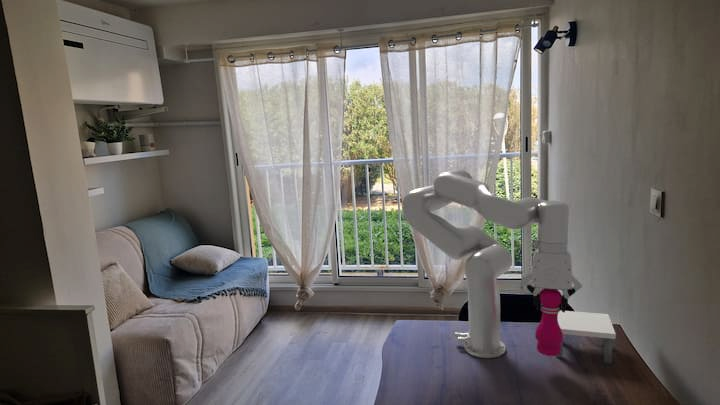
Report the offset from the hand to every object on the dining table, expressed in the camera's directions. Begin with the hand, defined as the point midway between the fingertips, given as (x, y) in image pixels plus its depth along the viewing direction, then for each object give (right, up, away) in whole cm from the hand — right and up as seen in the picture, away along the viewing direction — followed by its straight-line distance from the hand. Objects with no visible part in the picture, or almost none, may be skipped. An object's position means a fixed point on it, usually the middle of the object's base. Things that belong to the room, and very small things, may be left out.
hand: (550, 308), depth 127 cm
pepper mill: (0, -13, +2) cm, 13 cm away
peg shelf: (+15, -16, +12) cm, 25 cm away
